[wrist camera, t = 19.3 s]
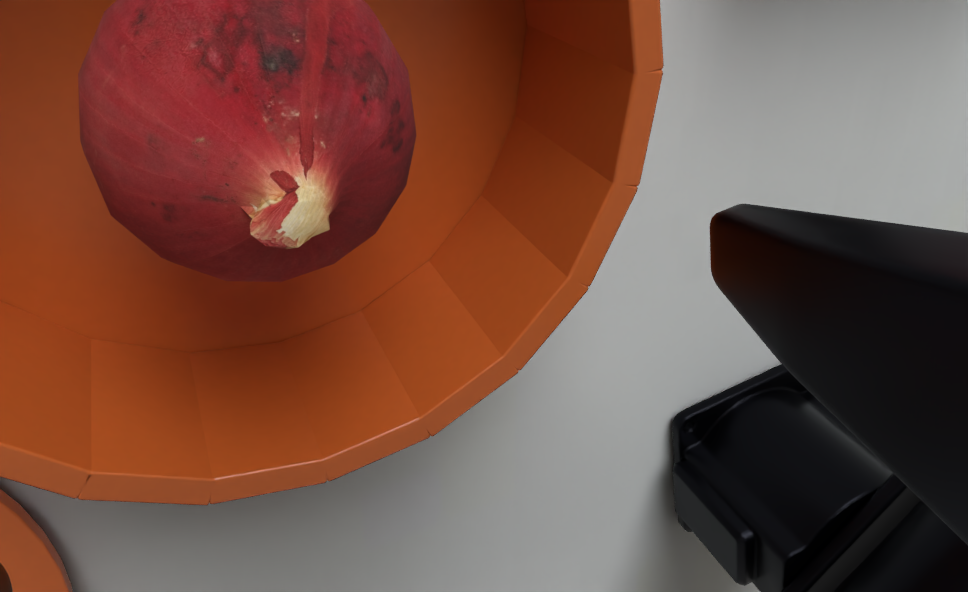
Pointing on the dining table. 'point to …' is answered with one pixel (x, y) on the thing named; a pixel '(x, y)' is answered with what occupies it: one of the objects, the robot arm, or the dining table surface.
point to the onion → (247, 130)
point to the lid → (28, 552)
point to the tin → (324, 292)
